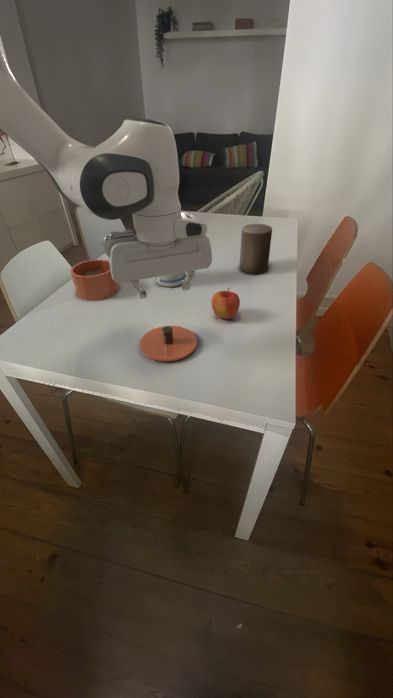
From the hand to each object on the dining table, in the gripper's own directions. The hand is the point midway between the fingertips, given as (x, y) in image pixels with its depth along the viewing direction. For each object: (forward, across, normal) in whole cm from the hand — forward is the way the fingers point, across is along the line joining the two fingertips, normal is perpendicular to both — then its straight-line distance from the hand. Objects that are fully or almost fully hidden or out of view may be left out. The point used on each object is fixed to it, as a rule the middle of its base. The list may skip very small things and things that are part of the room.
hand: (164, 293), depth 67 cm
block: (+13, -14, +35) cm, 40 cm away
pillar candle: (+14, +38, +32) cm, 52 cm away
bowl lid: (+13, 0, 0) cm, 13 cm away
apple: (+14, +17, +7) cm, 23 cm away
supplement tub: (+14, +9, +33) cm, 37 cm away
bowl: (+14, -14, +35) cm, 40 cm away
